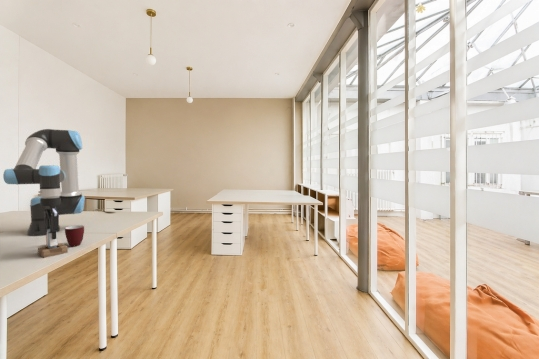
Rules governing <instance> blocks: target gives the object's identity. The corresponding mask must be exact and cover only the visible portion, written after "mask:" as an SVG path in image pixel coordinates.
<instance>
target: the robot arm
mask: <svg viewBox="0 0 539 359" xmlns="http://www.w3.org/2000/svg"><path fill="white" fill-rule="evenodd" d="M24 145H25V146H24V149H23V151H22V153H21V155H20V157H19V158H18V160H17V162H16V164H15V166H14V168H6V169H5V170H4V171H3V176H2V177H3V181H4V183H5V184H7V185H39V190H38V193H39V195H40V196H35V197H33V198H31V199H30V205H29V206H30V224H29V226H28V229H27V235H28V236H34V237H35V236H36V237H37V236H46V235H47V230H48V229H50V232H48V233H49V235H50V246H55V245H58V244H59V243H58V232H60V231H61V226H60V224H59V223H60V221H59V220H60V218H59V217H60V216H62V215H76V214H82V212H83V211H84V207H85V200H86V198H85V195H83V194H82V192H80V190H79V177H78V176H79V175H78V174H79V173H78V156H77V155H78V154H79V153H80V151H81V150H82V149H83V142H82V138H81V134H80V133H79V131H76V130H69V129H51V128H46V129H41V130H37V131H35V132H33V133H32V134H30V135H29V136H28V137H26V139H25V141H24ZM47 149H55V153H57V154H58V155H59V156H58V157H59V165H54V164H53V165H49V164H48V165H44V164H43V165H39V168H37V167H38V164H39V161H40V160H41V157H42V155H43V153H44V152H45V151H46V150H47ZM47 245H48V236H47Z"/></svg>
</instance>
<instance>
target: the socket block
mask: <svg viewBox="0 0 539 359" xmlns="http://www.w3.org/2000/svg"><path fill="white" fill-rule="evenodd" d="M57 244H58V245H57V248H52V249H48V246H46V245H45V246H40V247H37V254H38V255H39V256H40V257H42V258H49V257H53V256H58V255H63V254H66V253H67V254H68V252H69V251H68V246H67V245H66V244H63V243H62V242H59V243H57Z"/></svg>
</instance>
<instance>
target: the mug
mask: <svg viewBox="0 0 539 359" xmlns="http://www.w3.org/2000/svg"><path fill="white" fill-rule="evenodd" d="M64 233H65V234H64V235H65V238H66V242H67V243H68V245H69V246H70V247H78V246H79V247H80V245H81V243H82V242H83V240H84V234H85V225H82V224H81V225H79V224H78V225H70V226H66V227H65V228H64Z"/></svg>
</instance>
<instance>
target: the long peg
mask: <svg viewBox="0 0 539 359" xmlns="http://www.w3.org/2000/svg"><path fill="white" fill-rule="evenodd" d="M48 232H50V229H48V230H47V236H48V249H52V248H57V245H55V246H50V235H49V233H48Z"/></svg>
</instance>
